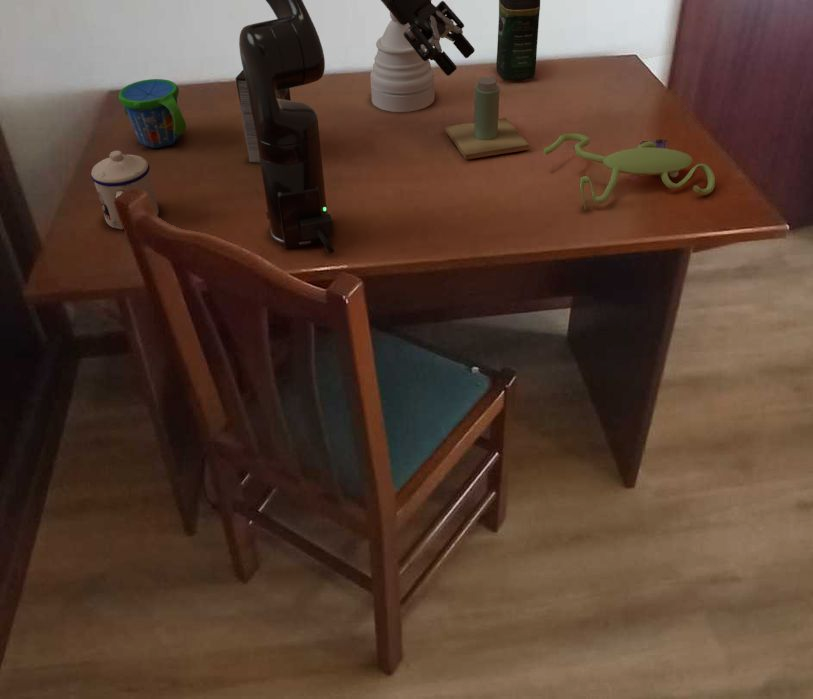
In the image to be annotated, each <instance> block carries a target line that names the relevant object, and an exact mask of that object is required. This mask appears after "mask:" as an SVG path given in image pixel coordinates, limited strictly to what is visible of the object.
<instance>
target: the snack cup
mask: <svg viewBox="0 0 813 699" xmlns="http://www.w3.org/2000/svg"><path fill="white" fill-rule="evenodd" d="M179 91H180V89H179V86H178V85H177V84H176V83H175V82H174V81H172V80H169V79H165V78H164V79H163V78H151V79H150V78H149V79H143V80H139V81H136V82H132V83H129V84H128V85H126V86H124V87H123V88H122V89H121V90H120V91H119V93H118V100H119V103H120V104H122V106H123V109H124V113H125V115H127V116H128V119H129V120H130V124H131V126H132V128H133V130H134V133H135V135H136V137H137V139H138V141H139V143H140V145H142V146H143V147H146V148H151V149H157V148H158V149H159V148H163V147H167V146H172V145H173V144H175V142H177V141H178V139H179V138H180V135H181V134H183V133H184V132H185V131H186V130H187V124H186V121H185V118H184V116H183V114H182V112H181V111H182V110H181V109H180V107H179V104H178V98H179Z"/></svg>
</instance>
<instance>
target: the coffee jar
mask: <svg viewBox="0 0 813 699" xmlns="http://www.w3.org/2000/svg"><path fill="white" fill-rule="evenodd" d="M540 11H541V0H498V26H497V44H496V45H497V46H496V63H495V64H496V66H495V67H496V68H495V69H496V71H497V74H498V75H499V77H500V78H501V79H502V80H503V81H511V82H516V83H520V82H521V83H522V82H525V81H528V80H531V79H534V78H535V76H536V71H537V70H536V69H537V56H538V55H537V52H538V41H539V40H538V39H539V24H540V23H539V21H540Z"/></svg>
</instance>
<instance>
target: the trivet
mask: <svg viewBox="0 0 813 699" xmlns="http://www.w3.org/2000/svg"><path fill="white" fill-rule="evenodd" d="M445 132H446V134H447V135H448V136H449V138H450V139H451V141H452V142H453V143H454V145H455V146H456V148H457V149H458V151H459V152H460V154H461V155H462V156H463V158H464V159H465V160H474V159H478V158H485V157H490V156H497V155H503V154H509V153H515V152H522V151H528V150H529V149H530V144H529V143H528V142H527V140H526V139H525V138H524V137H523V136H522V135H521V134H520V132H519V131H518V130H517V129H516V127H514V126H513V124H512V123H511V122H510V121H509V120H508V118H507V117H499V118H498V136H497V137H496V138H495V139H492V140H480V139H477V138H475V136H474V122H467V123H461V124H456V125H454V124H453V125H449V126H445Z"/></svg>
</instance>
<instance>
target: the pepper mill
mask: <svg viewBox="0 0 813 699" xmlns="http://www.w3.org/2000/svg"><path fill="white" fill-rule="evenodd" d="M473 108H474V110H473V111H474V112H473V123H474V136H475V138H477V139H480V140H492V139H495V138H496V137H497V136H498V119H499V113H500V112H499V111H500V86H499V85H497V79H496V78H494V77H491V76H483V77H480V78H479V79H478V80H477V85H475V87H474V107H473Z"/></svg>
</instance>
